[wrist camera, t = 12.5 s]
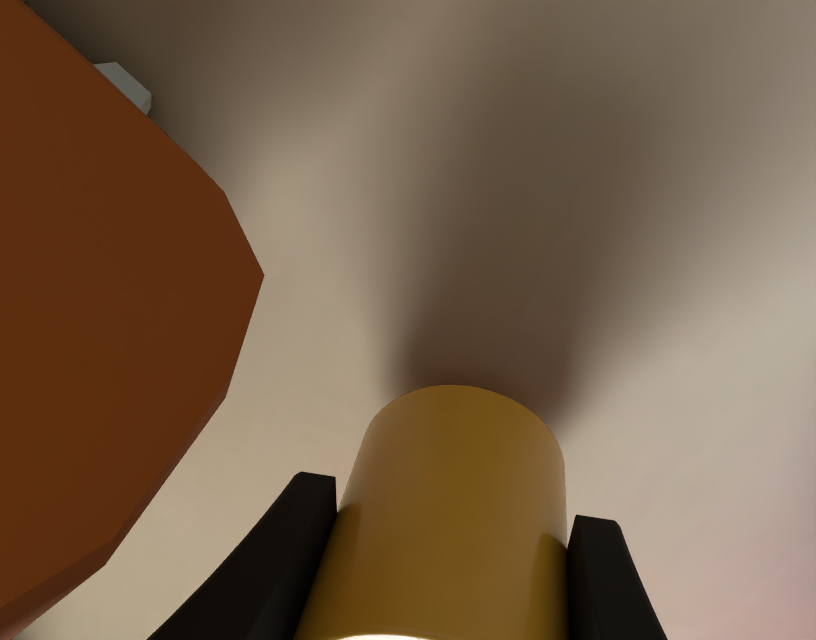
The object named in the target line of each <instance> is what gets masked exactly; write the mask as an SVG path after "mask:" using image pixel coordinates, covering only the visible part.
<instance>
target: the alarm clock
mask: <svg viewBox="0 0 816 640" xmlns="http://www.w3.org/2000/svg"><path fill="white" fill-rule="evenodd" d="M151 95H152V94H151V93H150V92H149V91H148V90H147V89H145V88H144V87H143V86H142V85H141V84H140V83H139V82H138V81H137V80H135V79H134V78H133V77H132V76H131V75H130V74H129V73H128V72H127V71H126V70H124V69H123V68H122V67H121V66H120V65H119V64H118V63H117V62H113V63H103V64H91V63H90V62H89V61H88V60H87V59H86V58H85V57H84V56H83V55H81V54H80V53H79V52H78V51H77V50H76V49H75V48H74V47H72V46H71V45H70V44H69V43H68V42H67V41H66V40H65V39H64V38H62V37H61V36H60V35H59V34H58V33H57V32H56V31H55V30H53V29H52V28H51V27H50V26H49V25H48V24H47V23H46V22H45V21H43V20H42V19H41V18H40V17H39V16H38V15H37V14H36V13H34V12H33V11H32V10H31V9H30V8H29V7H28V6H27V5H26V4H24V3H23V2H22V1H21V0H0V640H11V639H12V638H13V637H14V636H16V635H17V634H18V633H19V632H21V631H22V630H23V629H25V628H26V627H27V626H28V625H30V624H31V623H32V622H33V621H35V620H36V619H37V618H39V617H40V616H41V615H42V614H44V613H45V612H46V611H47V610H49V609H50V608H51V607H52V606H54V605H55V604H56V603H58V602H59V601H60V600H61V599H63V598H64V597H65V596H66V595H68V594H69V593H70V592H72V591H73V590H74V589H75V588H77V587H78V586H79V585H80V584H82V583H83V582H84V581H85V580H87V579H88V578H89V577H91V576H92V575H93V574H94V573H96V572H97V571H98V570H99V569H101V568H102V567H103V566H105V564H106V563H107V562H108V560H109V559H110V557H111V556H112V555H113V553H114V552H115V550H116V549H117V548H118V546H119V545H120V544H121V542H122V541H123V539H124V538H125V537H126V535H127V534H128V532H129V531H130V530H131V528H132V527H133V525H134V524H135V523H136V521H137V520H138V518H139V517H140V516H141V514H142V513H143V512H144V510H145V509H146V507H147V506H148V505H149V503H150V502H151V500H152V499H153V498H154V496H155V495H156V493H157V492H158V491H159V489H160V488H161V487H162V485H163V484H164V482H165V481H166V480H167V478H168V477H169V475H170V474H171V473H172V471H173V470H174V468H175V467H176V466H177V464H178V463H179V461H180V460H181V459H182V457H183V456H184V455H185V453H186V452H187V450H188V449H189V448H190V446H191V445H192V443H193V442H194V441H195V439H196V438H197V436H198V435H199V434H200V432H201V431H202V430H203V428H204V427H205V425H206V424H207V423H208V421H209V420H210V418H211V417H212V416H213V414H214V413H215V411H216V410H217V409H218V407H219V406H220V405H221V403H222V402H223V400H224V399H225V397H226V394H227V391H228V388H229V385H230V382H231V379H232V375H233V372H234V369H235V366H236V363H237V360H238V357H239V354H240V350H241V347H242V344H243V341H244V338H245V335H246V332H247V328H248V325H249V322H250V319H251V316H252V313H253V310H254V306H255V303H256V300H257V297H258V294H259V291H260V288H261V284H262V281H263V278H264V273H263V271H262V269H261V267H260V265H259V263H258V261H257V259H256V257H255V255H254V253H253V251H252V249H251V246H250V244H249V242H248V240H247V238H246V236H245V234H244V232H243V230H242V228H241V226H240V224H239V222H238V220H237V218H236V216H235V213H234V211H233V209H232V207H231V205H230V203H229V201H228V199H227V197H226V195H225V193H224V191H223V190H222V189H221V188H220V187H219V186H218V185H217V184H216V183H215V182H214V181H213V180H212V179H211V178H210V176H209V175H208V174H207V173H206V172H205V171H204V170H203V169H202V168H201V167H200V166H199V165H198V164H197V163H196V162H195V161H194V160H193V159H192V158H191V157H190V156H189V155H188V154H187V153H186V152H184V151H183V150H182V149H181V148H180V147H179V146H178V145H177V144H176V143H175V142H174V141H173V140H172V139H171V138H170V137H169V136H168V135H167V134H165V133H164V132H163V131H162V130H161V129H160V128H159V127H158V126H157V125H156V124H155V123H154V122H153V121H152V120H151V119H150V118H149V117H148V116H146V115H147V114H148V112H149V111H150V109H151Z"/></svg>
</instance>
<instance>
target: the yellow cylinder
mask: <svg viewBox="0 0 816 640" xmlns="http://www.w3.org/2000/svg"><path fill="white" fill-rule="evenodd" d="M292 640H570V627H569V602H568V569H567V522H566V489H565V465H564V459H563V455H562V451H561V449H560V447H559V445H558V442H557V441H556V439H555V437H554V436H553V434H552V433H551V431H550V430H549V429H548V427H547V426H546V425H545V424H544V423H543V422H542V420H541V419H539V418H538V417H537V416H536V415H535V414H534V413H533V412H532V411H530V410H529V409H527V408H526V407H524V406H523V405H522V404H520V403H518V402H516V401H514V400H513V399H511V398H509V397H506V396H504V395H501V394H499V393H497V392H493V391H490V390H487V389H483V388H478V387H473V386H465V385H438V386H430V387H425V388H421V389H417V390H414V391H411V392H409V393H406V394H404V395H402V396H400V397H398V398H397V399H395V400H393V401H392V402H390V403H389V404H388V405H386V406H385V407H384V408H382V410H381V411H380V412H379V413H378V414H377V415H376V416H375V417H374V418H373V420H372V421H371V423H370V424H369V426H368V429H367V431H366V433H365V436H364V438H363V441H362V444H361V447H360V450H359V452H358V455H357V458H356V461H355V464H354V467H353V469H352V472H351V475H350V478H349V481H348V483H347V486H346V489H345V492H344V495H343V498H342V500H341V503H340V506H339V509H338V512H337V515H336V517H335V520H334V523H333V526H332V529H331V532H330V534H329V537H328V540H327V543H326V546H325V549H324V551H323V554H322V557H321V560H320V563H319V565H318V568H317V571H316V574H315V577H314V579H313V582H312V585H311V588H310V591H309V593H308V596H307V599H306V602H305V605H304V608H303V610H302V613H301V616H300V619H299V622H298V624H297V627H296V630H295V633H294V636H293V639H292Z"/></svg>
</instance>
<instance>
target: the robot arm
mask: <svg viewBox="0 0 816 640" xmlns="http://www.w3.org/2000/svg"><path fill="white" fill-rule="evenodd" d="M336 515H337V504H336V477H333V476H326V475H320V474H314V473H307V472H299V473H298V474H296V475H295V476H294V477H293V478H292V480H291V481H290V482H289V484H288V485H287V486H286V488H285V489H284V490H283V491H282V493H281V494H280V495H279V497H278V498H277V499H276V500H275V502H274V503H273V504H272V505H271V507H270V508H269V509H268V510H267V512H266V513H265V514H264V515H263V517H262V518H261V519H260V520H259V521H258V523H257V524H256V525H255V526H254V527H253V528H252V530H251V531H250V532H249V533H248V534H247V536H246V537H245V538H244V539H243V540H242V541H241V542H240V543H239V545H238V546H237V547H236V548H235V549H234V550H233V551H232V552H231V554H230V555H229V556H228V557H227V558H226V559H225V560H224V561H223V562H222V564H221V565H220V566H219V567H218V568H217V569H216V570H215V571H214V572H213V574H212V575H211V576H210V577H209V578H208V579H207V580H206V581H205V582H204V583H203V584H202V585H201V586H200V587H199V588H198V589H197V590H196V591H195V592H194V593H193V594H192V595H191V596H190V597H189V598H188V599H187V600H186V601H185V602H184V603H183V604H182V605H181V606H180V607H179V608H178V609H177V610H176V611H175V613H174V614H173V615H172V616H171V617H170V618H169V619H168V620H167V621H166V622H164V623H163V624H162V625H161V626H160V627H159V628H158V629H157V630H156V631H155V632H154V633H153V634H152V635H151V636H150V637H149V638H148V639H147V640H292V639H293V636H294V633H295V630H296V627H297V624H298V622H299V619H300V616H301V613H302V610H303V608H304V605H305V602H306V599H307V596H308V593H309V591H310V588H311V585H312V582H313V579H314V577H315V574H316V571H317V568H318V565H319V563H320V560H321V557H322V554H323V551H324V549H325V546H326V543H327V540H328V537H329V534H330V532H331V529H332V526H333V523H334V520H335V517H336ZM567 569H568V602H569V627H570V640H668V639H667V637H666V635H665V633H664V631H663V629H662V627H661V625H660V623H659V620H658V618H657V616H656V614H655V612H654V610H653V607H652V605H651V603H650V601H649V598H648V596H647V594H646V591H645V589H644V587H643V584H642V582H641V580H640V577H639V575H638V573H637V570H636V568H635V565H634V563H633V560H632V558H631V555H630V553H629V550H628V547H627V545H626V542H625V539H624V536H623V533H622V530H621V528H620V526H619V525H618V524H617V523H616V521H614V520H607V519H601V518H595V517H588V516H582V515H576V516H575V520H574V524H573V528H572V532H571V536H570V540H569V543H568V547H567Z"/></svg>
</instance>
